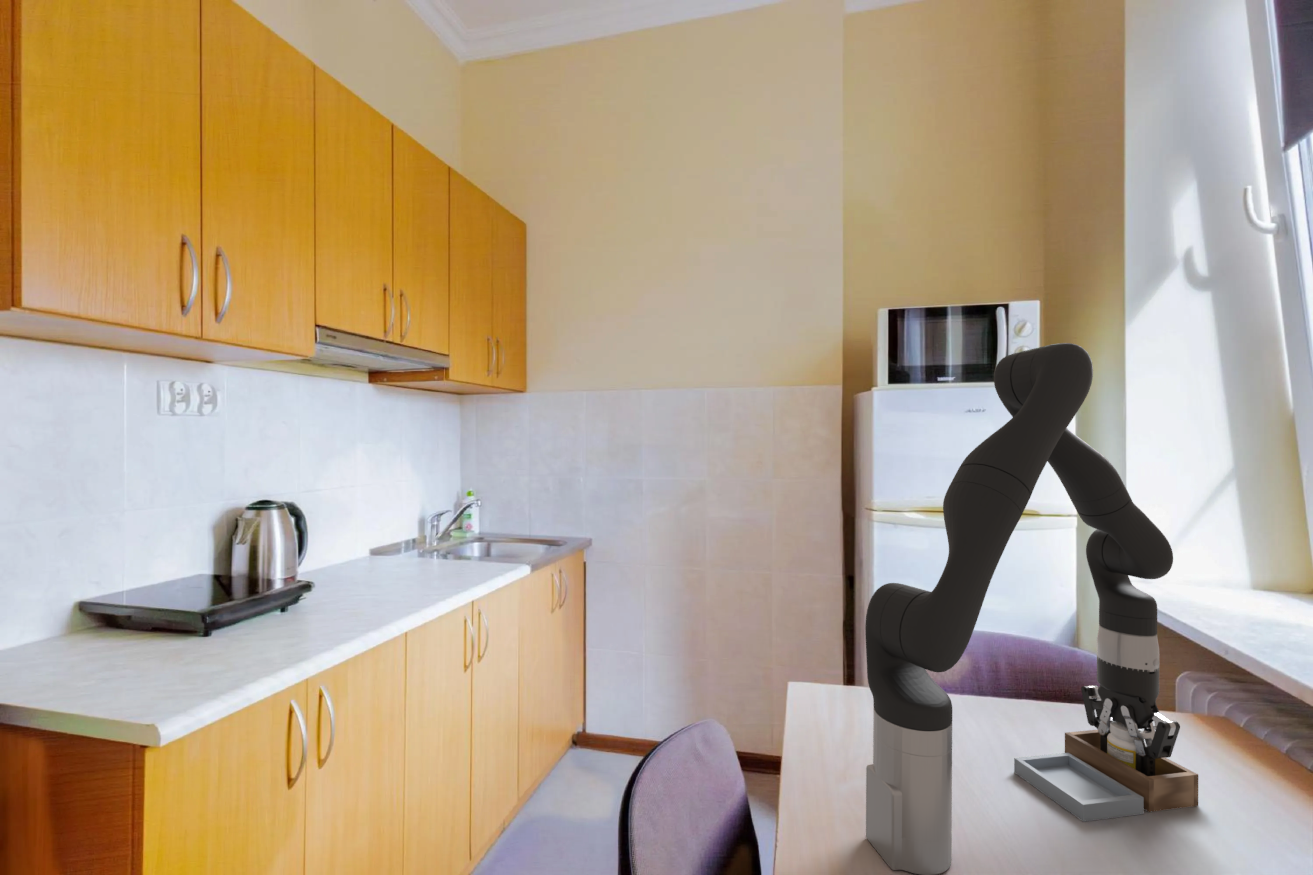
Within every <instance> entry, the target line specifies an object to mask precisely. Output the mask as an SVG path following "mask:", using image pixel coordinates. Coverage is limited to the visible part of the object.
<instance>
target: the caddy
mask: <svg viewBox="0 0 1313 875" xmlns="http://www.w3.org/2000/svg"><path fill="white" fill-rule="evenodd" d="M1100 744H1101V743H1100V733H1099V732H1098V729H1089V730H1078V731H1068V732H1064V753H1070V754H1072V755H1073V756H1075V757H1077V758H1078V759H1080V760H1082V761H1083V762H1085V763H1087V764H1088V765H1090V766H1092V767H1093V768H1095V769H1097V770H1098V771H1100V772H1102V773H1103V774H1105V775H1107V776H1108V777H1110V778H1112V779H1113V780H1115V781H1117V782H1118V783H1120V784H1122V785H1123V786H1125V787H1127V788H1128V789H1130V790H1132V791H1133V792H1135V793H1137V794H1138V795H1140V796H1142V797H1143V798H1144V807H1143V810H1145V811H1146V810H1147V812H1148V813H1152V812H1153V813H1154V812H1161V811H1169V810H1177V809H1184V808H1193V807H1199V774H1198V773H1197V772H1194V771H1192V770H1191V769H1188V768H1187V767H1185V766H1182V765H1180V764H1179V763H1177V762H1175V761H1173V760H1170V758H1168V757H1167V758H1166V757H1164V758H1158V759H1155V776H1146V775H1145V774H1143V773H1141V772H1139V771H1137V770H1136V769H1134V768H1132V767H1130V766H1128V765H1127V764H1125V763H1123V762H1121V761H1119V760H1118V759H1116V758H1114V757H1112V756H1111V755H1109V754H1107V753H1105V752H1103V751H1102V750H1100ZM1151 811H1152V812H1151Z"/></svg>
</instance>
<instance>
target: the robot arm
mask: <svg viewBox="0 0 1313 875" xmlns="http://www.w3.org/2000/svg"><path fill="white" fill-rule="evenodd" d="M1093 377H1094V366H1093V361H1092V358H1091V356H1090V354H1089V353H1088V351H1087V350H1086V349H1085V348H1084V347H1082V346H1080V345H1079V344H1076V343H1073V342H1072V343H1071V342H1061V343H1060V342H1059V343H1053V344H1048V345H1045V346H1040V347H1039V346H1038V347H1035V348H1031V349H1027V350H1022V351H1018V352H1014V353H1011V354H1007V355H1006V356H1004V357H1002V358H1001V359H1000V360H999V362H997V364H996V366H995V369H994V372H993V384H994V388H995V391H996V394H997V396H998V399H999V400H1000V401H1001V403H1002V404H1003V406H1004V407H1005V409H1006V410H1007V411H1008V413H1009V414H1010V415H1011V418H1010V420H1008V421H1007V422H1006V423H1005V424H1003V426H1001V427H1000V428H998V429H997V430H996V431H995V432H993V433H992V434H990V435H989V436H988V437H987V438H986V439H984V440H983V441H982V442H981V443H979V444H978V445H977V446H976V447H975V448H974V449H973V450H972V451H971V452H970V453H969V454H968V455H966V457H965V458H964V460H963V461H962V462H961V464H960V466H959V467H958V470H957V471H956V473H955V474H954V477H953V479H952V481H950V484H949V486H948V488H947V490H946V493H945V494H944V498H943V503H942V504H943V505H942V510H943V519H944V526H945V531H946V535H947V536H946V537H947V542H948V555H947V556H948V557H947V561H946V563H945V566H944V569H943V570H942V574H941V576H940V577H939V580H938V582H937V583H936V584H935V586H934V588H933V589H932V591H929V590H926V589H922V588H918V587H914V586H912V585H911V586H910V585H907V584H903V583H899V582H888V583H885V584H883V585H881V586H880V587H878V588H877V589H876V590H875V592H874V593H873V595H872V596H871V598H870V600H869V603H868V605H867V609H866V614H865V615H866V616H865V628H864V629H865V635H864V636H865V653H866V654H865V656H866V674H867V682H868V686H869V690H870V692H871V695H872V698H873V720H872V721H873V728H872V729H873V732H872V733H873V734H872V735H873V737H872V738H873V740H872V742H873V744H872V747H873V750H872V764H867V766H866V768H865V770H866V771H865V772H866V773H865V774H866V775H865V776H866V778H865V780H866V781H865V786H866V787H865V788H866V789H865V838H866V839H867V840H868V841H869V843H870V844H871V846H872V847H873V848H874V849H875V850H876V851H877V853H878V854H879V855H880V857H881V858H882V860H884V861H885V863H886V864H887V865H888V867H889V868H890V869H891V870H893V871H897V870H899V871H905V872H909V873H912V874H916V875H940V874H942V873H945V872H946V871H947V870H949V868H950V866H951V864H952V861H953V860H952V859H953V858H952V857H953V856H952V855H953V854H952V850H953V849H952V846H953V845H952V843H953V842H952V841H953V839H952V838H953V837H952V836H953V834H952V831H953V830H952V829H953V826H952V825H953V822H952V821H953V812H952V810H953V806H952V805H953V802H952V801H953V703H952V700H951V697H950V696H949V694H948V693H947V692H946V691H945V690H944V689H943V688H942V687H941V686H940V685H939V684H938V683H937V682H936V681H935V680H934V679H933V678H932V676H931V675H930V674H929V672H933V673H944V672H947V671H948V670H951V669H953V668H954V666H956V665H957V663H958V662H959V661H960V659H961V658H962V656H963V654H964V653H965V651H966V650H967V647H968V645H969V642H970V641H971V638H972V635H973V633H974V630H975V627H976V625H977V621H978V618H979V616H980V613H981V610H982V608H983V604H984V601H985V599H986V598H985V597H986V596H987V592H988V589H989V586H990V585H991V584H990V583H991V582H992V578H993V575H994V574H995V572H996V569H997V567H998V564H999V562H1000V561H1001V560H1000V559H1001V557H1002V555H1003V554H1004V551H1005V549H1006V546H1007V544H1008V542H1009V540H1010V538H1011V536H1012V534H1013V532H1014V530H1015V529H1016V527H1017V525H1018V523H1019V521H1020V519H1021V517H1022V516H1023V513H1024V511H1025V509H1026V508H1027V505H1028V502H1030V499H1031V496H1032V494H1033V492H1034V489H1035V488H1036V484H1037V482H1038V480H1039V479H1040V476H1041V474H1042V472H1043V470H1044V468H1045V466H1046V465H1047V463H1048V464H1049V465H1050V467H1051V468H1052V470H1053V471H1054V473H1055V474H1056V475H1057V477H1058V479H1059V480H1060V482H1061V484H1062V486H1063V487H1064V489H1065V491H1066V493H1067V496H1068V497H1069V499H1070V501H1071V502H1072V505H1073V507H1074V508H1075V510H1076V513H1077V514H1078V516H1079V517H1080V519H1081V520H1082V522H1083V523H1084V524H1086V525H1087V526H1088V527H1090V528H1093V529H1095V530H1094V531H1093V532H1092V533H1091V534H1090V535H1089V537H1088V540H1087V542H1086V545H1085V546H1086V547H1085V555H1086V559H1087V565H1088V568H1089V571H1090V574H1091V578H1092V581H1093V584H1094V588H1095V590H1096V593H1097V597H1098V600H1099V601H1098V602H1099V603H1098V607H1099V608H1098V624H1099V625H1098V630H1097V631H1098V632H1097V637H1096V682H1097V683H1098V684H1099V686H1098V685H1096V684H1095V685H1083V686H1081V688H1080V690H1081V694H1082V696H1081V697H1082V700H1083V705H1084V709H1085V714H1086V719H1087V723H1088V725H1090V726H1092V727H1095V728H1096V730H1098V732H1099V733H1100V743H1101V744H1100V750H1102V751H1103V752H1105V753H1107V736H1108V734H1110V733H1111V732H1110V722H1112V721H1116V722H1119V723H1122V724H1123V725H1125V726H1126V727H1127V728H1128V731H1129V735H1130V737H1131V738H1133V739H1134V742H1135V746H1136V749H1137V752H1138V754H1136V770H1137V771H1139V772H1141V773H1143V774H1145V775H1146V776H1155V759H1158V758H1164V757H1165V758H1167V759H1168V758H1171V757H1172V755H1173V751H1174V748H1175V745H1176V741H1177V739H1178V735H1179V732H1180V729H1181V725H1180V723H1179V722H1178V721H1177V720H1169V719H1168V718H1166V717H1165V716H1164V715H1162V714H1161V713H1160V709H1159V708H1158V706H1157V699H1158V697H1159V695H1160V645H1159V640H1158V603H1157V601H1156V599H1155V597H1153V596H1152V595H1150V594H1148V593H1146V592H1144V591H1143V590H1140V589H1139V588H1137V587H1136V586H1134V584H1132V581H1131V580H1130V577H1135V578H1138V579H1143V580H1144V579H1145V580H1157V579H1160V578H1163V577H1164V576H1167V574H1168V573H1169V572H1170V571H1171V569H1172V568H1173V564H1174V553H1173V549H1172V547H1171V544H1170V542H1169V540H1168V539H1167V537H1166V536H1165V535H1164V533H1163V532H1162V531H1161V530H1160V528H1158V526H1156V525H1155V523H1154V522H1153V521H1152V520H1151V519H1150V518H1149V517H1148V516H1147V515H1146V514H1145V513H1144V511H1142V510H1141V509H1140V508H1139V507H1138V506H1137V505H1136V504H1135V503H1134V501H1133V499H1132V497H1131V495H1130V493H1129V492H1128V490H1127V487H1126V484H1124V480H1122V478H1121V476H1120V474H1119V472H1118V471H1117V470H1116V468H1115V467H1114V465H1113V464H1112V463H1111V461H1109V460H1108V459H1107V458H1106V456H1104V455H1103V454H1102V453H1100V451H1098V450H1096V449H1095V448H1094V447H1093V446H1091V445H1089V443H1087V442H1085V440H1083V439H1081V438H1080V437H1079V436H1077V435H1076V434H1075V433H1074V432H1073V431H1071V430H1070V429H1069V425H1070V423H1071V422H1072V420H1073V419H1074V418H1075V416H1076V414H1077V413H1078V411H1080V409H1081V407H1082V405H1083V404H1084V402H1085V400H1086V398H1087V396H1088V394H1089V392H1090V390H1091V389H1090V388H1091V386H1092V382H1093ZM1129 576H1130V577H1129ZM928 671H929V672H928ZM1153 722H1154V723H1153ZM1138 729H1142V730H1143V732H1139V731H1138ZM1145 744H1146V746H1145Z"/></svg>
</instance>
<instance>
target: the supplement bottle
mask: <svg viewBox="0 0 1313 875" xmlns="http://www.w3.org/2000/svg"><path fill="white" fill-rule="evenodd" d="M1138 731H1139V732H1143V731H1144V729H1138ZM1110 732H1111V733H1110V734H1108V736H1107V754H1109V755H1111V756H1112V757H1114V758H1116V759H1118V760H1119V761H1121V762H1123V763H1125V764H1127V765H1128V766H1130V767H1132V768H1134V769H1136V754H1138V752H1137V749H1136V746H1135V742H1134V739H1133V738H1131V737H1130V735H1129V731H1128V728H1127V727H1126V726H1125V725H1123V724H1122V723H1119V722H1116V721H1112V722H1110ZM1145 746H1147V745H1146V743H1145Z"/></svg>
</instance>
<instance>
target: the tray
mask: <svg viewBox="0 0 1313 875" xmlns="http://www.w3.org/2000/svg"><path fill="white" fill-rule="evenodd" d="M1013 764H1014V767H1013V768H1014V769H1013V770H1014V772H1013V773H1014V774H1016V775H1017V776H1019V777H1020V778H1021V779H1022V780H1024V781H1025V782H1027V783H1028V784H1029V785H1031V786H1032V787H1034V788H1035V789H1037V790H1038V791H1040V792H1041V793H1042V794H1044V795H1045V796H1046V797H1048V798H1049V799H1051V800H1052V801H1053V802H1055V803H1057V804H1058V805H1059V806H1061V807H1062V808H1063V809H1065V811H1068V812H1069V813H1070V812H1071V813H1070V814H1072V815H1074V816H1075V817H1076V818H1078V819H1079V820H1080V821H1081V822H1084V823H1085V822H1091V821H1098V820H1099V821H1101V820H1107V819H1112V818H1113V819H1114V818H1121V817H1122V818H1123V817H1129V816H1138V815H1144V809H1143V807H1144V798H1143V797H1142V796H1140V795H1138V794H1137V793H1135V792H1133V791H1132V790H1130V789H1128V788H1127V787H1125V786H1123V785H1122V784H1120V783H1118V782H1117V781H1115V780H1113V779H1112V778H1110V777H1108V776H1107V775H1105V774H1103V773H1102V772H1100V771H1098V770H1097V769H1095V768H1093V767H1092V766H1090V765H1088V764H1087V763H1085V762H1083V761H1082V760H1080V759H1078V758H1077V757H1075V756H1073V755H1072V754H1070V753H1065V752H1059V753H1051V754H1039V755H1031V756H1029V755H1028V756H1021V757H1014V763H1013Z"/></svg>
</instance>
